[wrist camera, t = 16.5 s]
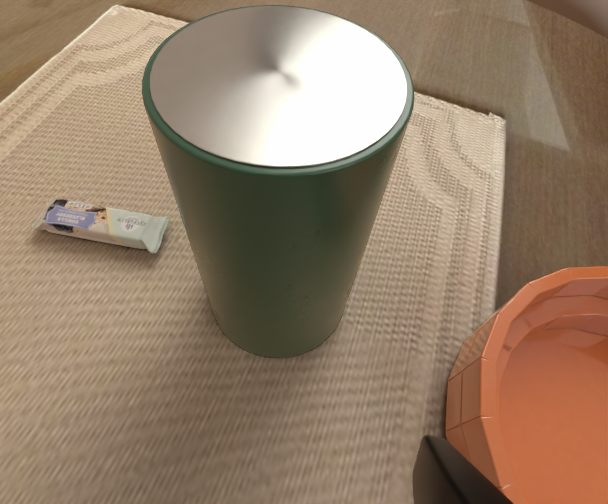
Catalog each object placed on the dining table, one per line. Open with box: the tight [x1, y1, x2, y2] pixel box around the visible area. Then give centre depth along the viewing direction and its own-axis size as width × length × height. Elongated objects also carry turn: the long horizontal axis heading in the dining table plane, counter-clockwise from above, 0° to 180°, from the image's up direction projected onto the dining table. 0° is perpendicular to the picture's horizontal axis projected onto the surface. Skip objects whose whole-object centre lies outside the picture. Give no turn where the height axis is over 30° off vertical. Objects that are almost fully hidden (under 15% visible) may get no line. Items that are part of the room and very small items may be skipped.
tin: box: [142, 5, 414, 358], centre depth 15 cm, size 7×7×12 cm
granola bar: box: [31, 196, 170, 254], centre depth 21 cm, size 7×2×1 cm, turn 79°
